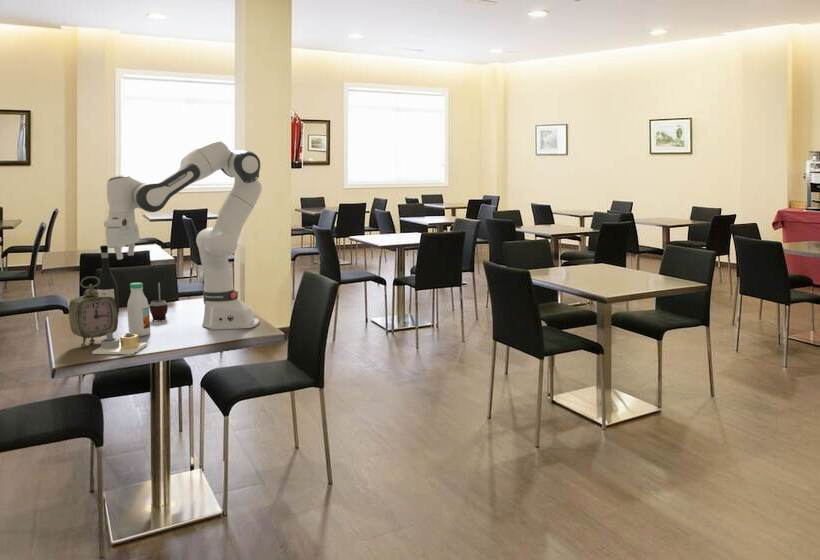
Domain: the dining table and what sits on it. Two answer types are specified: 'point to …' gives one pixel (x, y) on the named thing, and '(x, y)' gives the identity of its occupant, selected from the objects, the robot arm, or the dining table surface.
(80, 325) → the tabletop clock
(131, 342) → the brass gear
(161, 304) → the mate gourd
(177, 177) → the robot arm
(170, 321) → the dining table surface
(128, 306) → the milk bottle
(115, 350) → the gear board
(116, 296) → the wine bottle
